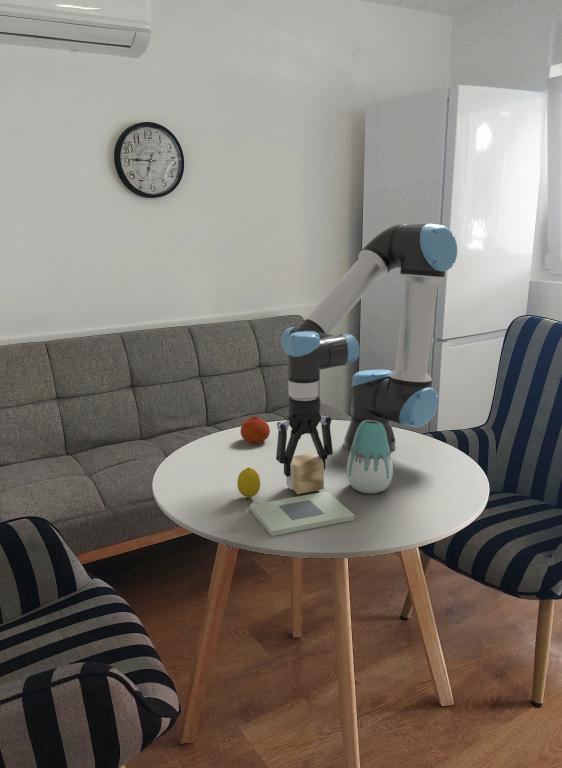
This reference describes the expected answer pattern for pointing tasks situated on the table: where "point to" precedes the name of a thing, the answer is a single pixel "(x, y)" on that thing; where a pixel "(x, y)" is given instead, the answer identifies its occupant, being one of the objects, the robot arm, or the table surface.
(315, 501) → the board
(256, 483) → the lemon
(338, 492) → the table surface
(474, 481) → the table surface
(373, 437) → the vase
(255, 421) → the fruit
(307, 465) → the oak cube
